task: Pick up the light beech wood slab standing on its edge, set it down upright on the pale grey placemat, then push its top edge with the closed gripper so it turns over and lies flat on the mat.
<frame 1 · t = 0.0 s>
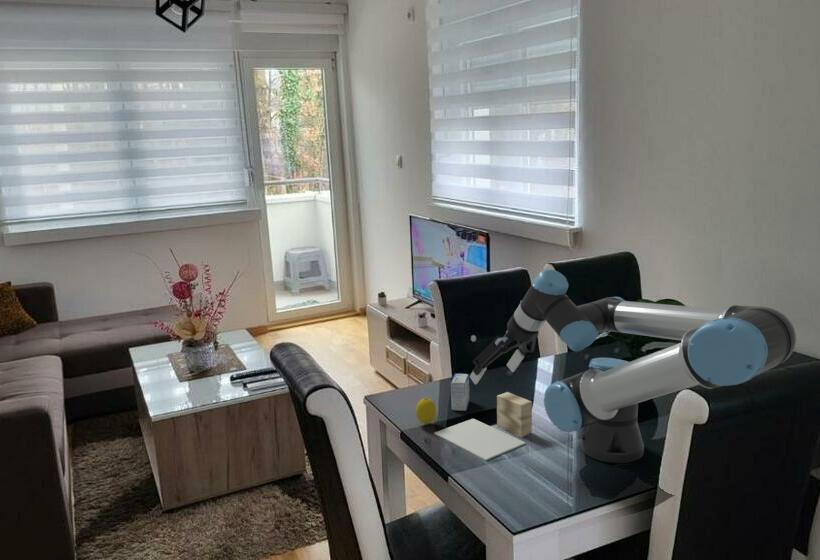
hand: (492, 374, 178), 15 cm above the table, tool tilted 35°, fingers open, 13 cm apart
medicine box: (460, 406, 196), on the table
placemat: (478, 438, 174), on the table
lemon: (426, 425, 184), on the table
slab: (514, 429, 179), on the table
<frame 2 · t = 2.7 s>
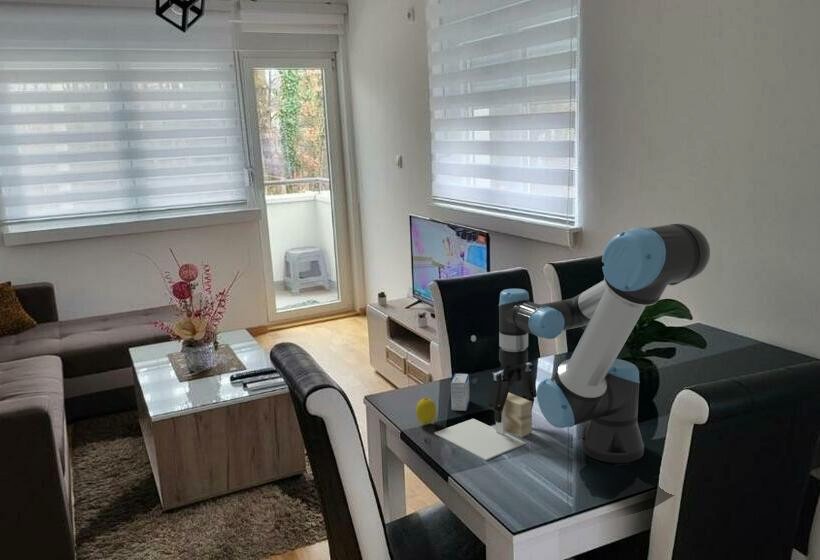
hand: (512, 428, 178), 1 cm above the table, tool pointing down, fingers open, 8 cm apart
nothing on the table moved.
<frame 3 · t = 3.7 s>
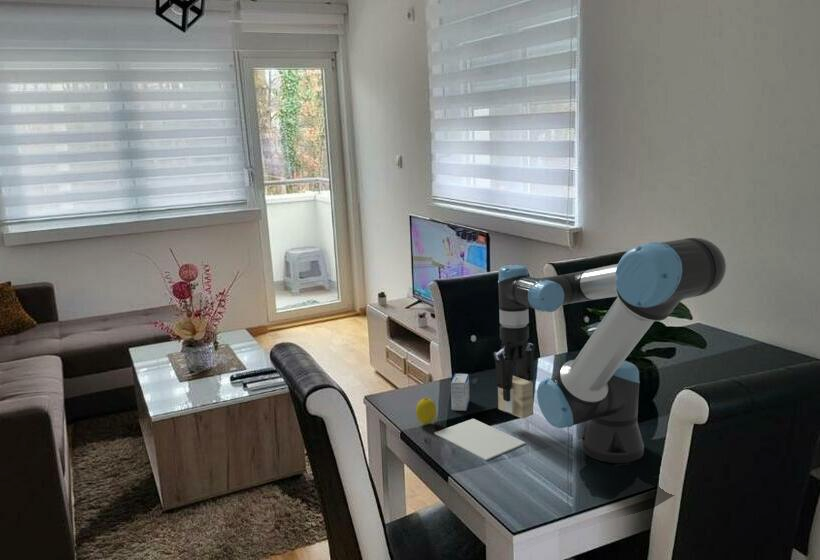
hand: (515, 409, 177), 6 cm above the table, tool pointing down, fingers closed on slab, 4 cm apart
slab: (515, 411, 177), point 5 cm above the table, touching gripper
everything else where it was.
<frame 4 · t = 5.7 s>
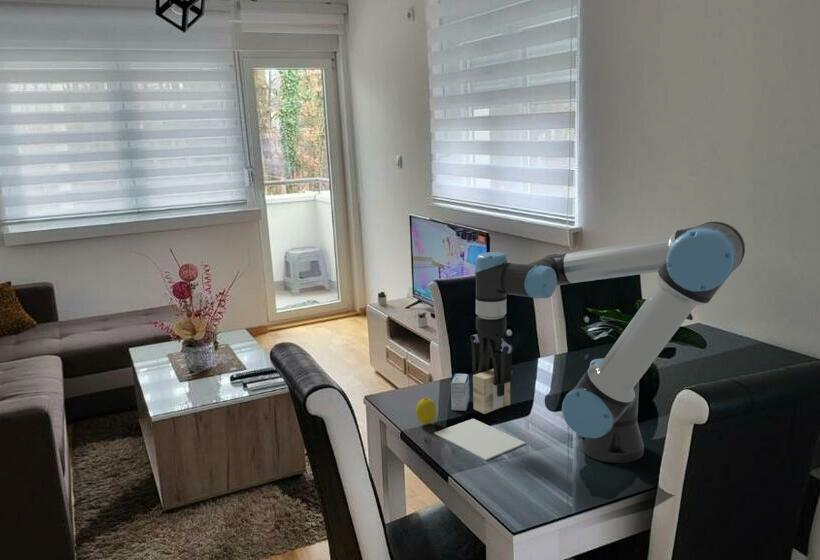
hand: (491, 404, 168), 11 cm above the table, tool pointing down, fingers closed on slab, 4 cm apart
slab: (491, 406, 168), point 11 cm above the table, touching gripper
everything else where it was.
when the fingers open (1 cm above the table, at t = 7.6 s): slab stays where it is, resting on placemat.
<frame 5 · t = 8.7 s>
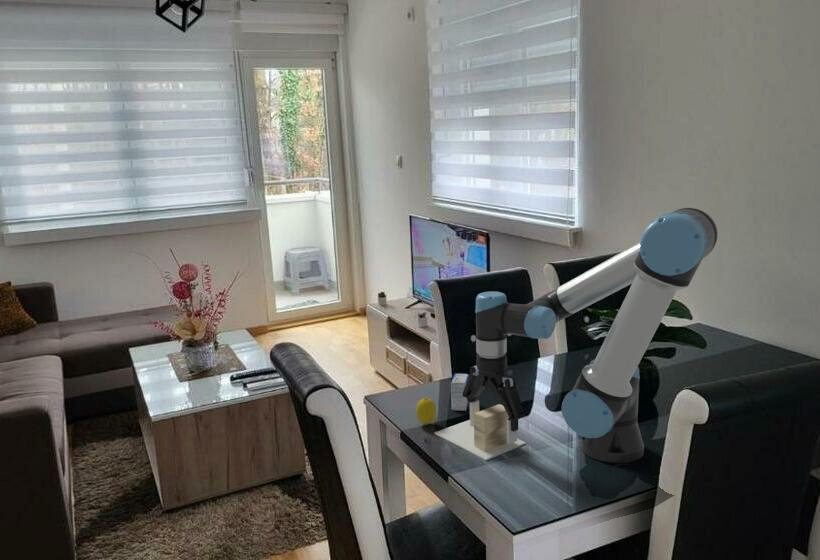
hand: (492, 433, 169), 3 cm above the table, tool pointing down, fingers open, 13 cm apart
slab: (492, 443, 170), resting on placemat
everything else where it was.
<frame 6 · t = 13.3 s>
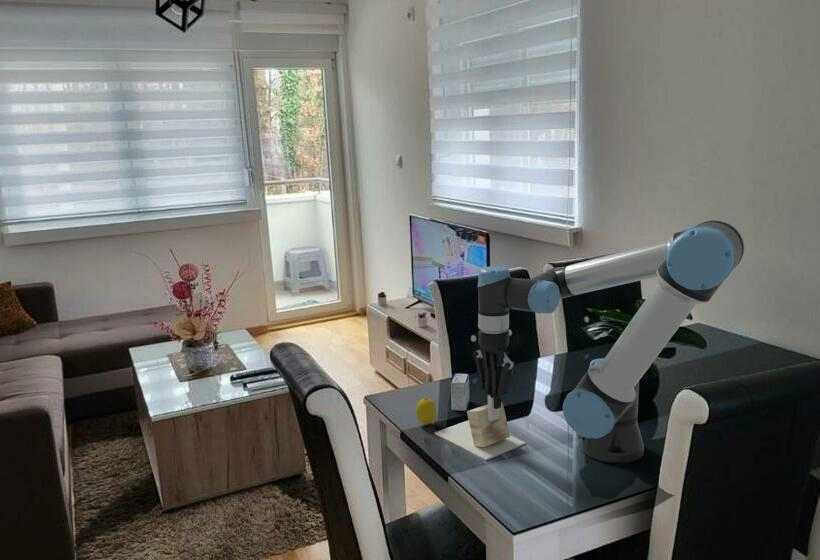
hand: (493, 418, 168), 8 cm above the table, tool pointing down, fingers closed
slab: (492, 441, 170), point 1 cm above the table, tilted 18°, touching placemat
everything else where it was.
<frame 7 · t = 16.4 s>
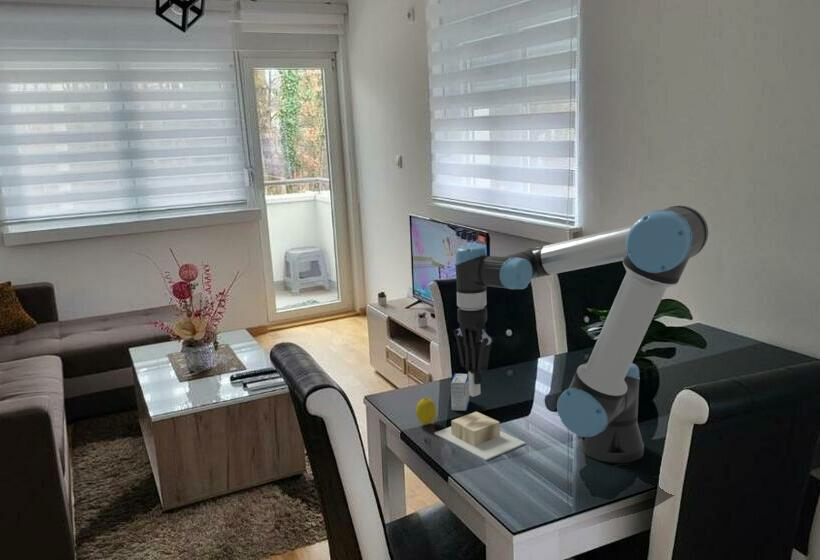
hand: (474, 394, 173), 12 cm above the table, tool pointing down, fingers closed
slab: (487, 433, 171), point 2 cm above the table, tilted 90°, touching placemat
everything else where it was.
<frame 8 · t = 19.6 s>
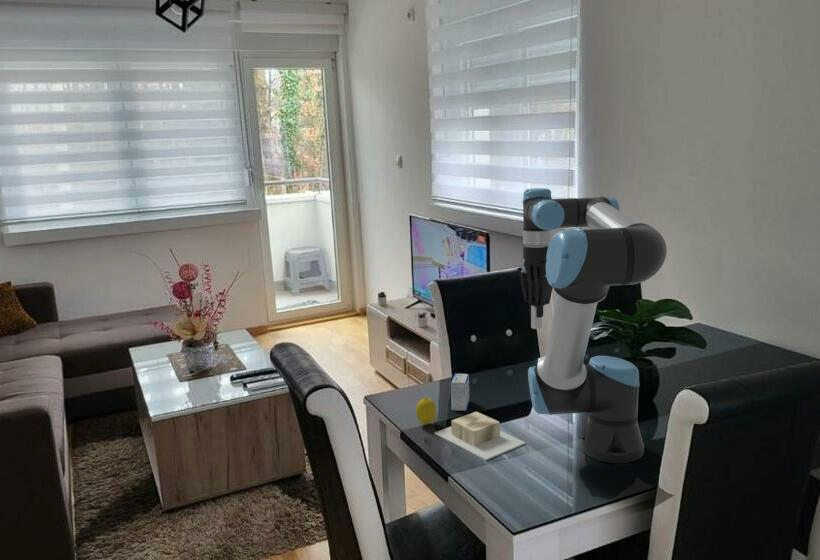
hand: (536, 327, 187), 24 cm above the table, tool pointing down, fingers closed
nothing on the table moved.
at the end: slab tilted 90°; slab inside the target area (4.0 cm from its centre), point 2.4 cm above the table; the gripper is holding nothing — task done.
